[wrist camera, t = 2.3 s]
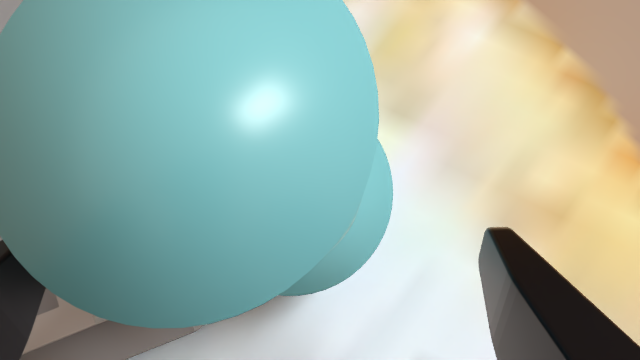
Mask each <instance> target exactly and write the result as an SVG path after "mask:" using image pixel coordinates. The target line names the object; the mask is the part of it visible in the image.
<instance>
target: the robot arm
mask: <svg viewBox="0 0 640 360" xmlns="http://www.w3.org/2000/svg"><path fill="white" fill-rule="evenodd" d="M479 271H480V277H481V282H482V288H483V294H484V299H485V305H486V311H487V317H488V322H489V328H490V333H491V338H492V343H493V346H494V350H495V354H496V357H497V360H640V346H639V345H638V344H636V343H635V342H634V341H633V340H632V339H631V338H630V337H629V336H628V335H627V334H625V333H624V332H623V331H622V330H621V329H620V328H619V327H618V326H617V325H616V324H615V323H613V322H612V321H611V320H610V319H609V318H608V317H607V316H606V315H605V314H604V313H603V312H601V311H600V310H599V309H598V308H597V307H596V306H595V305H594V304H593V303H592V302H591V301H589V300H588V299H587V298H586V297H585V296H584V295H583V294H582V293H581V292H580V291H579V290H577V289H576V288H575V287H574V286H573V285H572V284H571V283H570V282H569V281H568V280H567V279H565V278H564V277H563V276H562V275H561V274H560V273H559V272H558V271H557V270H556V269H555V268H553V267H552V266H551V265H550V264H549V263H548V262H547V261H546V260H545V259H544V258H543V257H541V256H540V255H539V254H538V253H537V252H536V251H535V250H534V249H533V248H532V247H531V246H529V245H528V244H527V243H526V242H525V241H524V240H523V239H522V238H521V237H520V236H519V235H517V234H516V233H515V232H514V231H513V230H512V229H510V228H508V227H490V228H487V229H486V231H485V233H484V237H483V241H482V245H481V249H480V254H479ZM45 289H46V287H45V286H43V285H42V284H41V283H40V282H39V281H37V280H36V279H35V278H34V277H32V275H31V274H30V273H29V272H28V271H27V270H26V269H25V268H24V267H23V266H22V265H21V263H20V262H19V261H18V260H17V259H16V258H15V257H14V255H13V254H12V252H11V251H10V249H9V248H8V247H7V245H6V244H5V242H4V241H3V240H1V241H0V360H20V358H21V356H22V354H23V351H24V349H25V347H26V344H27V342H28V339H29V337H30V334H31V331H32V328H33V325H34V322H35V319H36V316H37V313H38V310H39V307H40V304H41V301H42V298H43V295H44V292H45Z"/></svg>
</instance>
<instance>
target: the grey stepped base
mask: <svg viewBox="0 0 640 360" xmlns="http://www.w3.org/2000/svg"><path fill="white" fill-rule="evenodd" d="M22 1H23V0H0V34H1V32H2V30H3V29H4V27H5V25H6V24H7V22H8V20H9V19H10V17H11V16H12V14H13V13H14V12H15V10H16V9H17V8H18V7H19V5H20V4H21V3H22ZM1 240H3V239H2V238H1V236H0V241H1ZM205 325H206V324H205ZM203 326H204V325H199V326H192V327H186V328H146V327H139V326H131V325H125V324H121V323H117V322H114V321H110V320H106V319H103V318H100V317H97V316H95V315H93V314H90V313H88V312H86V311H83V310H81V309H79V308H76V307H74V306H73V305H71V304H70V303H68V302H66V301H65V300H63V299H61V298H60V297H58V296H56V295H55V294H53V293H52V292H51V291H49V290H48V289H47V288H46V289H45V292H44V295H43V298H42V301H41V304H40V307H39V310H38V313H37V316H36V319H35V322H34V325H33V328H32V331H31V334H30V337H29V339H28V342H27V344H26V347H25V349H24V351H23V354H22V356H21V358H20V360H125V359H128V358H130V357H133V356H135V355H138V354H140V353H143V352H145V351H148V350H150V349H153V348H155V347H158V346H160V345H163V344H165V343H168V342H170V341H173V340H175V339H178V338H180V337H183V336H185V335H188V334H190V333H193V332H195V331H197V330H198V329H200V328H201V327H203Z"/></svg>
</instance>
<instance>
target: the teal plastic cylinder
mask: <svg viewBox="0 0 640 360" xmlns="http://www.w3.org/2000/svg"><path fill="white" fill-rule="evenodd" d="M378 124H379V109H378V90H377V85H376V79H375V74H374V68H373V64H372V61H371V58H370V55H369V52H368V49H367V46H366V42H365V40H364V38H363V36H362V34H361V32H360V29H359V27H358V25H357V23H356V21H355V19H354V17H353V16H352V14H351V13H350V11H349V10H348V8H347V7H346V5H345V4H344V2H343V1H342V0H23V1H22V3H21V4H20V5H19V7H18V8H17V9H16V10H15V12H14V13H13V14H12V16H11V17H10V19H9V20H8V22H7V24H6V25H5V27H4V29H3V30H2V32H1V34H0V236H1V238H2V239H3V241H4V242H5V244H6V245H7V247H8V248H9V249H10V251H11V252H12V254H13V255H14V257H15V258H16V259H17V260H18V261H19V262H20V263H21V265H22V266H23V267H24V268H25V269H26V270H27V271H28V272H29V273H30V274H31V275H32V277H34V278H35V279H36V280H37V281H39V282H40V283H41V284H42V285H43V286H45V287H46V288H47V289H48V290H49V291H51V292H52V293H53V294H55V295H56V296H58V297H60V298H61V299H63V300H65V301H66V302H68V303H70V304H71V305H73V306H74V307H76V308H79V309H81V310H83V311H86V312H88V313H90V314H93V315H95V316H97V317H100V318H103V319H106V320H110V321H114V322H117V323H121V324H125V325H131V326H139V327H146V328H186V327H192V326H199V325H205V324H211V323H214V322H218V321H221V320H224V319H228V318H231V317H235V316H238V315H240V314H242V313H244V312H247V311H249V310H251V309H253V308H256V307H258V306H260V305H262V304H264V303H266V302H267V301H269V300H271V299H272V298H274V297H275V296H277V295H281V296H300V295H306V294H312V293H316V292H319V291H323V290H326V289H328V288H330V287H332V286H335V285H337V284H339V283H340V282H342V281H344V280H345V279H347V278H348V277H350V276H351V275H352V274H354V273H355V272H356V271H357V270H359V269H360V268H361V267H362V266H363V265H364V264H365V262H366V261H367V260H368V259H369V258H370V257H371V255H372V254H373V253H374V251H375V250H376V248H377V247H378V245H379V243H380V241H381V239H382V238H383V236H384V233H385V231H386V228H387V225H388V223H389V219H390V214H391V210H392V200H393V184H392V176H391V171H390V166H389V163H388V160H387V157H386V154H385V152H384V150H383V148H382V146H381V144H380V142H379V140H378V139H377V135H378Z"/></svg>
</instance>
